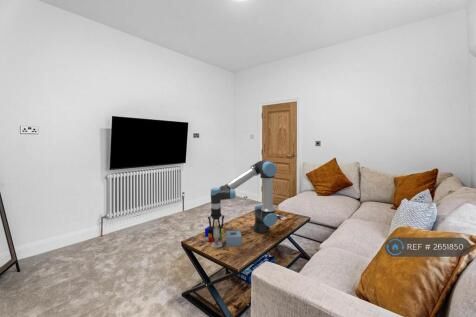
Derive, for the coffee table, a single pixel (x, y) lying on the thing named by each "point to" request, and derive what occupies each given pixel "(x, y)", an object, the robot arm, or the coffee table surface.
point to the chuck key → (216, 233)
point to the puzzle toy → (210, 234)
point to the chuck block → (233, 238)
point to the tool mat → (216, 245)
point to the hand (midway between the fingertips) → (216, 236)
